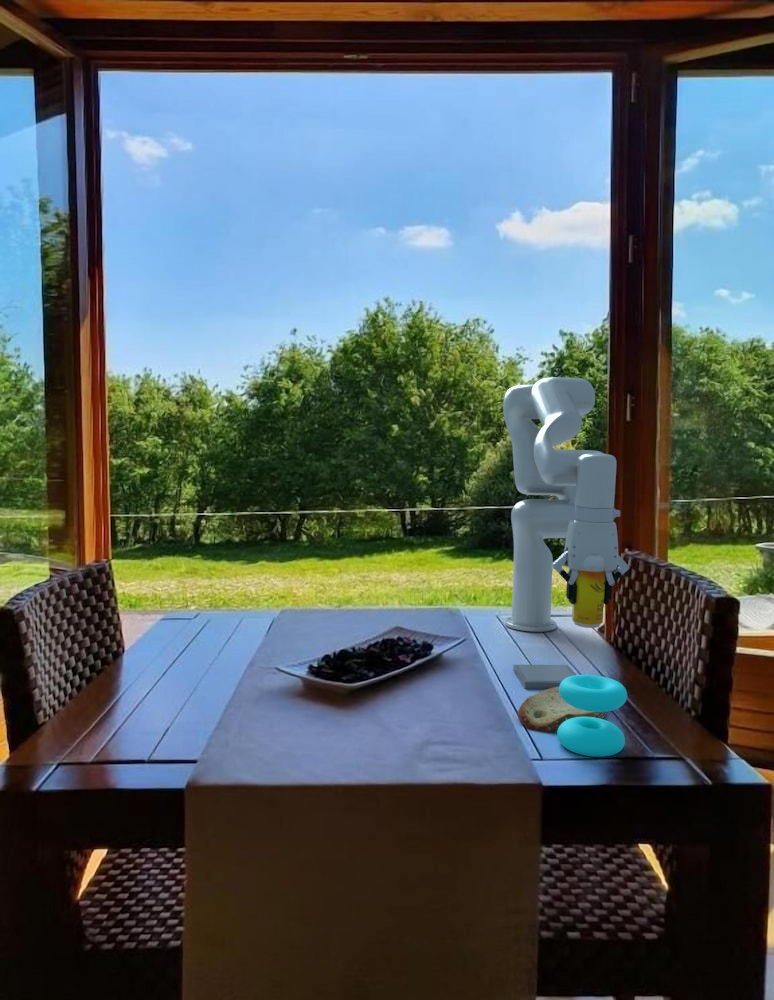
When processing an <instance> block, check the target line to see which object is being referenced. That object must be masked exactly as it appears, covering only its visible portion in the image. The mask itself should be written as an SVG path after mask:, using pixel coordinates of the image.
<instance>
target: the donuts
mask: <svg viewBox="0 0 774 1000" xmlns="http://www.w3.org/2000/svg"><path fill="white" fill-rule="evenodd" d="M559 693H560V696H561V697H562V699H563V700H564V701H565V702H566V703H568V704H569V705H571V706H573V707H575V708H578V709H581V710H585V711H591V712H606V713H607V712H612V711H615V710H617V709H620V708H621V707H622V706H623V705H624V704H625V703H626V702H627V699H628V692H627V689H626V687H625V686H624V685H623V684H622V683H621V682H620V681H618V680H616V679H613V678H610V677H607V676H603V675H602V676H601V675H597V674H576V675H574V676H570V677H567V678H565V679H564V680H563V681H562V682H561V683H560V686H559ZM556 736H557V740H558V742H559V743H560V745H561V746H563V747H564V748H565V749H567V750H568V751H570V752H571V753H572V752H573V753H575V754H578V755H581V756H587V757H593V758H594V757H596V758H598V757H599V758H601V757H603V758H604V757H610V756H614V755H616V754H618V753H620V752H621V751H622V750H623V749H624V747H625V744H626V738H625V735H624V733H623V731H622V730H621V729H620V728H619V726H617V725H616V724H614V723H613V722H611V721H609V720H606V719H603V718H602V719H600V718H595V717H575V718H571V719H568V720H566V721H564V722H563V723H562V724H561V725H560V726H559V728H558V731H557V732H556Z"/></svg>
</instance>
